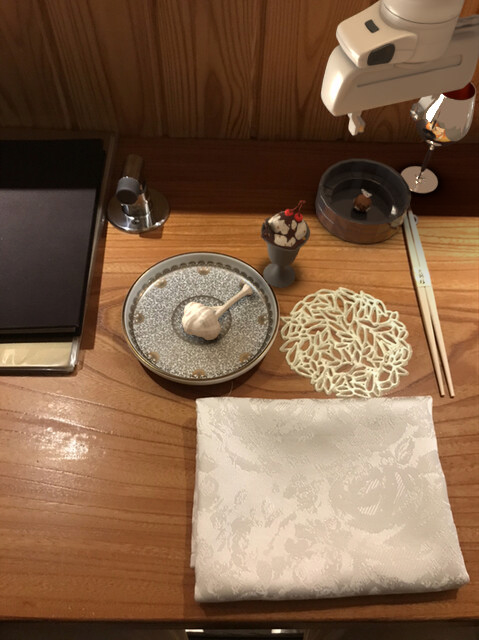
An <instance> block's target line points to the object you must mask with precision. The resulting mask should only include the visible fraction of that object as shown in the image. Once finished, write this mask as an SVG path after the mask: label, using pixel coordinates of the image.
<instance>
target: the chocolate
mask: <svg viewBox="0 0 479 640" xmlns="http://www.w3.org/2000/svg"><path fill="white" fill-rule="evenodd" d="M362 190H364V189H362ZM364 193H365V194H366V193H367V192H366V191H365V192H363V194H361V195H358V196H357V197H356V198H355V199H354V202H353V204H354V208H355V209H356V210H358V211H360V212H364V211H366V210H367V211H368V210H369V209H370V206H371V204H372V202H371V199H370V198H369V196H367V195H365V194H364ZM367 194H368V195H370V194H369V193H367ZM370 196H371V195H370Z"/></svg>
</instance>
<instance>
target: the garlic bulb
mask: <svg viewBox="0 0 479 640" xmlns="http://www.w3.org/2000/svg"><path fill="white" fill-rule="evenodd" d="M253 293H254V291H253V289H252V287H251V286H250V285H248V284H247V283H245V284H244V285H243V287H242V289H241V290H240V291H239V292H238V293H236V294H235V295H234V296H232V297H231V298H230V299H229V300H227V301H226V302H225V303H224V304H223V305H217V306H208V305H204V304H203V303H201V302H198V303H197V301H190V302H189V303H188V304H186V305H185V307H184V309H183V316H182V318H181V324H182V326H183V332H184V333H186V334H187V335H189V336H192V335H194V336H195V337H198V338H199V337H200V338H203V339H204V340H207V341H211V340H215V339H217V337H218V336H219V334H220V333H221V331H222V329H221V324H220V321H219V318H220V317H221V316H222V315H223V314H224V313H226V311H227V310H229V309H230V307H231V306H233V305H234V304H235V303H236V302H238V301H239V300H241V299H242V298H244V297H245V296H252V295H253Z"/></svg>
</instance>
